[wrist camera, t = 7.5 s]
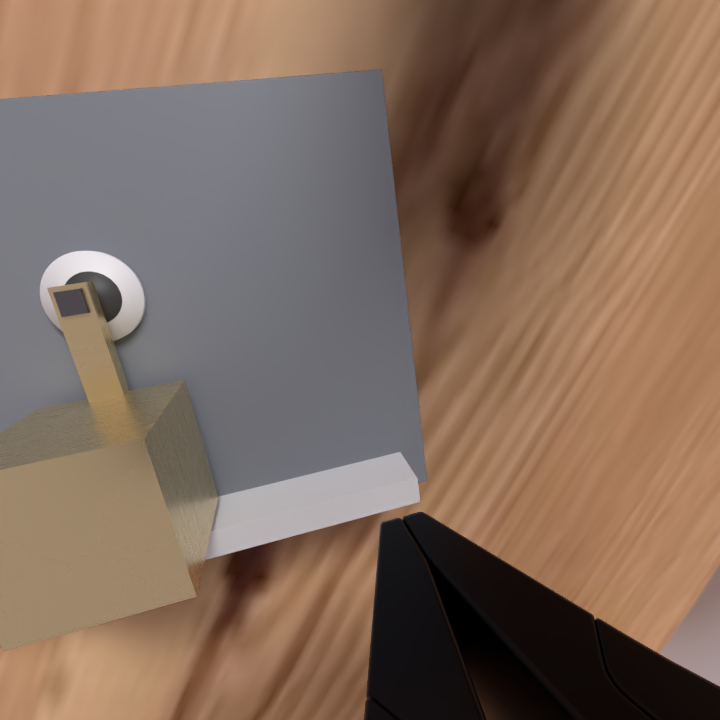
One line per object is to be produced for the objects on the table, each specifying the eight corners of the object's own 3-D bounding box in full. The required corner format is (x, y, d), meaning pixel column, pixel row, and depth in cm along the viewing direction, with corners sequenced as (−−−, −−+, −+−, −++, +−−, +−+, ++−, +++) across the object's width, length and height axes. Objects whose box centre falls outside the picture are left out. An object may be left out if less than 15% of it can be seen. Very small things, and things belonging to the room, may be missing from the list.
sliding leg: (153, 271, 12) (91, 280, 8) (218, 496, 14) (196, 596, 10) (-10, 296, 11) (-176, 320, 7) (86, 529, 13) (3, 651, 9)
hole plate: (370, 88, 14) (449, -45, 8) (415, 463, 18) (489, 570, 12) (-501, 163, 10) (-1717, 18, 4) (-186, 614, 14) (-531, 886, 8)
